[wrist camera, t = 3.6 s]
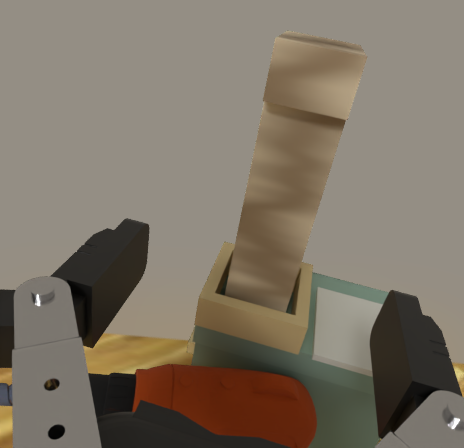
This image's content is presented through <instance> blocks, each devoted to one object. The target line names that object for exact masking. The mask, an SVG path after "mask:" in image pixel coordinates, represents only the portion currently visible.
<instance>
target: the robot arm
mask: <svg viewBox="0 0 464 448" xmlns="http://www.w3.org/2000/svg"><path fill="white" fill-rule="evenodd" d="M148 241H149V225H148V224H146V223H143V222H139V221H135V220H131V219H128V218H127V219H125V220H124V221H123V222H122V223H121V224H120V225H119V226H118V227H117V228H116V229H115V230H111V229H108V228H107V229H105V230H103V231H100V232H98V233H96V234H94V235H93V236H92V237H91V238H90V239H89V240H87V241H86V243H85V245H82V246H81V247H80V248H79V249H78V250H77V252H75V253H74V254H73V255H72V256H71V257H70V258H69V259H68V260H67V261H66V262H65V263H64V264H63V265H62V266H61V267H60V268H59V269H58V270H56V271H55V272H54V273H53V274H52V275H51V276H50V277H38V278H34V279H31V280H28V281H26V282H24V283H23V284H21V285H20V286H19V287H18V288H17V290H0V368H12V397H13V448H291V447H288V446H285V445H282V444H279V443H275V442H272V441H269V440H266V439H263V438H260V437H246V436H230V435H217V434H214V433H212V432H210V431H209V430H207V429H206V428H204V427H202V426H201V425H199V424H197V423H196V422H194V421H193V420H191V419H189V418H188V417H186V416H185V415H183V414H181V413H180V412H178V411H175V410H171V409H168V408H165V407H162V406H159V405H156V404H153V403H149V402H146V401H143V400H140V402H139V404H138V406H137V408H136V411H135V412H118V413H112V414H107V415H104V416H101V417H98V418H96V414H95V408H94V403H93V397H92V392H91V387H90V381H89V376H88V370H87V365H86V359H85V354H84V348H83V346H87V347H90V348H93V347H94V346H95V344H96V343H97V341H98V340H99V338H100V337H101V336H102V334H103V333H104V331H105V330H106V328H107V327H108V326H109V324H110V323H111V321H112V320H113V318H114V317H115V316H116V314H117V313H118V311H119V310H120V308H121V307H122V305H123V304H124V303H125V301H126V300H127V298H128V297H129V296H130V294H131V293H132V291H133V290H134V288H135V287H136V285H137V284H138V283H139V281H140V280H141V278H142V276H143V274H144V271H145V268H146V264H147V253H148ZM445 345H446V343H445V340H444V337H443V334H442V331H441V330H440V328H439V327H438V326H437V325H436V323H435V322H434V321H433V319H432V318H431V317H429V316H425V315H422V312H421V308H420V304H419V301H418V298H417V297H416V296H412V295H409V294H405V293H401V292H398V291H394V290H391V291H390V292H389V293H388V295H387V297H386V299H385V301H384V303H383V306H382V308H381V310H380V312H379V314H378V316H377V318H376V320H375V323H374V325H373V327H372V330H371V335H370V354H371V364H372V374H373V385H374V395H375V405H376V415H377V426H378V436H379V438H382V440H381V441H380V442H379V443H378V444H377V445H376V446H375V447H374V448H464V398H463V397H462V393H461V390H460V387H459V384H458V381H457V378H456V375H455V371H454V368H453V365H452V362H451V359H450V358H449V353H448V350H447V347H445Z"/></svg>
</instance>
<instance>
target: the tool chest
mask: <svg viewBox="0 0 464 448" xmlns="http://www.w3.org/2000/svg"><path fill="white" fill-rule="evenodd" d="M234 247H235V244H232V243H228V242H224V244H223V246H222V248H221V250H220V253H219V255H218V257H217V259H216V261H215V264H214V266H213V268H212V270H211V272H210V275H209V277H208V279H207V281H206V283H205V285H204V288H203V290H202V292H201V294H200V296H199V300H198V306H197V312H196V318H195V327H194V330H193V332H192V334H191V337H190V339H189V341H188V347H187V353H191V354H193V359H192V365H191V366H207V367H221V368H234V369H245V370H254V371H262V372H268V373H273V374H279V375H284V376H288V377H292V378H294V379H296V380H299V381H300V382H301V383H302V384H303V385H304V386H305V387H306V389H307V390H308V392H309V394H310V396H311V398H312V400H313V403H314V406H315V411H316V417H317V428H316V433H315V437H314V439H313V440H312V442H311V444H310V445H309V447H308V448H374V447H375V446H376V445H377V443H378V441H379V440H380V438H379V436H378V426H377V415H376V405H375V395H374V385H373V374H372V364H371V354H370V335H371V330H372V327H373V325H374V323H375V320H376V318H377V316H378V314H379V312H380V310H381V308H382V306H383V303H384V301H385V299H386V297H387V295H388V292H385V291H381V290H377V289H373V288H370V287H366V286H362V285H358V284H354V283H350V282H347V281H343V280H340V279H336V278H332V277H328V276H325V275H321V274H317V273H313V272H312V269H313V265H311V264H307V263H303V262H301V265H300V268H299V271H298V275H297V278H296V281H295V284H294V287H293V291H292V294H291V297H290V300H289V303H288V307H287V310H286V313H285V312H281V311H278V310H274V309H270V308H267V307H263V306H260V305H256V304H253V303H249V302H245V301H242V300H238V299H235V298H231V297H228V296H225V291H226V286H227V281H228V276H229V271H230V267H231V262H232V257H233V252H234Z"/></svg>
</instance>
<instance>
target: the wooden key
mask: <svg viewBox="0 0 464 448" xmlns="http://www.w3.org/2000/svg"><path fill="white" fill-rule="evenodd" d="M366 59H367V56H366V54H365V52H364V51H363V49H362V47H361V46H360V45H356V44H351V43H346V42H342V41H337V40H332V39H327V38H322V37H317V36H313V35H307V34H303V33H298V32H293V31H286V32H285V33H283V34H281V35H280V36H278V37H277V38H276V39H275V43H274V48H273V53H272V58H271V64H270V68H269V73H268V78H267V83H266V87H265V93H264V97H263V101H264V105H263V110H262V115H261V120H260V125H259V130H258V135H257V140H256V145H255V149H254V154H253V159H252V164H251V169H250V174H249V179H248V184H247V189H246V193H245V199H244V203H243V208H242V213H241V218H240V223H239V228H238V233H237V237H236V242H235V247H234V252H233V257H232V262H231V267H230V271H229V276H228V281H227V286H226V291H225V296H228V297H231V298H235V299H238V300H242V301H245V302H249V303H253V304H256V305H260V306H263V307H267V308H270V309H274V310H278V311H281V312H285V313H286V310H287V307H288V303H289V300H290V297H291V294H292V291H293V287H294V284H295V281H296V278H297V275H298V271H299V268H300V265H301V262H302V259H303V255H304V252H305V249H306V246H307V243H308V239H309V236H310V233H311V230H312V227H313V223H314V220H315V217H316V214H317V210H318V207H319V204H320V201H321V198H322V195H323V191H324V188H325V185H326V182H327V178H328V175H329V172H330V169H331V166H332V162H333V159H334V156H335V153H336V150H337V147H338V143H339V140H340V137H341V134H342V131H343V128H344V124H345V121H346V120H348V117H349V114H350V110H351V107H352V104H353V101H354V98H355V95H356V91H357V88H358V85H359V82H360V79H361V75H362V72H363V69H364V66H365V63H366Z"/></svg>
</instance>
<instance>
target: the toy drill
mask: <svg viewBox="0 0 464 448" xmlns="http://www.w3.org/2000/svg"><path fill="white" fill-rule="evenodd" d="M88 376H89V381H90V387H91V392H92V397H93V403H94V408H95V414H96V418H98V417H101V416H104V415H107V414H112V413H118V412H135V411H136V408H137V406H138V404H139V402H140V400H143V401H146V402H149V403H153V404H156V405H159V406H162V407H165V408H168V409H171V410H175V411H178V412H180V413H181V414H183V415H185V416H186V417H188V418H189V419H191V420H193V421H194V422H196V423H197V424H199V425H201V426H202V427H204V428H206V429H207V430H209V431H210V432H212V433H214V434H217V435H230V436H246V437H260V438H263V439H266V440H269V441H272V442H275V443H279V444H282V445H285V446H288V447H291V448H308V447H309V445H310V444H311V442H312V440H313V439H314V437H315V433H316V428H317V417H316V411H315V406H314V403H313V400H312V398H311V396H310V394H309V392H308V390H307V389H306V387H305V386H304V385H303V384H302V383H301V382H300V381H299V380H296V379H294V378H292V377H288V376H284V375H279V374H273V373H268V372H262V371H254V370H245V369H234V368H221V367H207V366H189V365H176V364H171V365H170V364H167V365H163V366H158V367H154V368H150V369H148V370H145V369H137V370H136V373H135V374H123V373H111V374H110V375H102V374H90V373H88ZM0 405H1V406H13V397H12V384H11V385H10V386H8V385H7V384H6V383H0Z"/></svg>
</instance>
